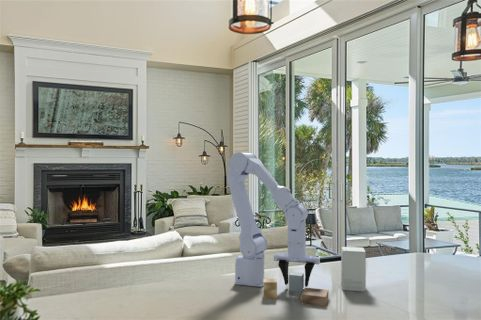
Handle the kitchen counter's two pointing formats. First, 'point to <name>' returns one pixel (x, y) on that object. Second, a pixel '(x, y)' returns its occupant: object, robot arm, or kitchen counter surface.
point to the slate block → (296, 281)
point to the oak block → (270, 288)
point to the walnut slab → (314, 296)
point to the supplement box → (353, 268)
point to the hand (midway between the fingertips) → (296, 284)
